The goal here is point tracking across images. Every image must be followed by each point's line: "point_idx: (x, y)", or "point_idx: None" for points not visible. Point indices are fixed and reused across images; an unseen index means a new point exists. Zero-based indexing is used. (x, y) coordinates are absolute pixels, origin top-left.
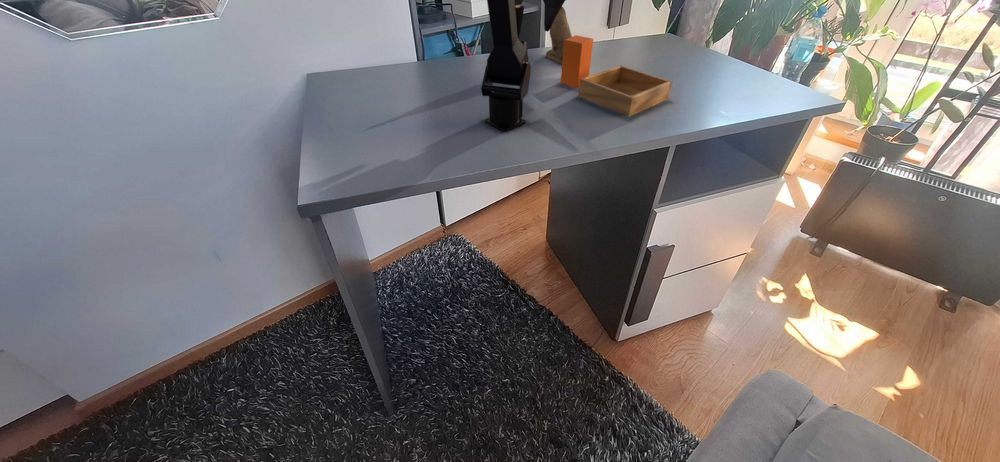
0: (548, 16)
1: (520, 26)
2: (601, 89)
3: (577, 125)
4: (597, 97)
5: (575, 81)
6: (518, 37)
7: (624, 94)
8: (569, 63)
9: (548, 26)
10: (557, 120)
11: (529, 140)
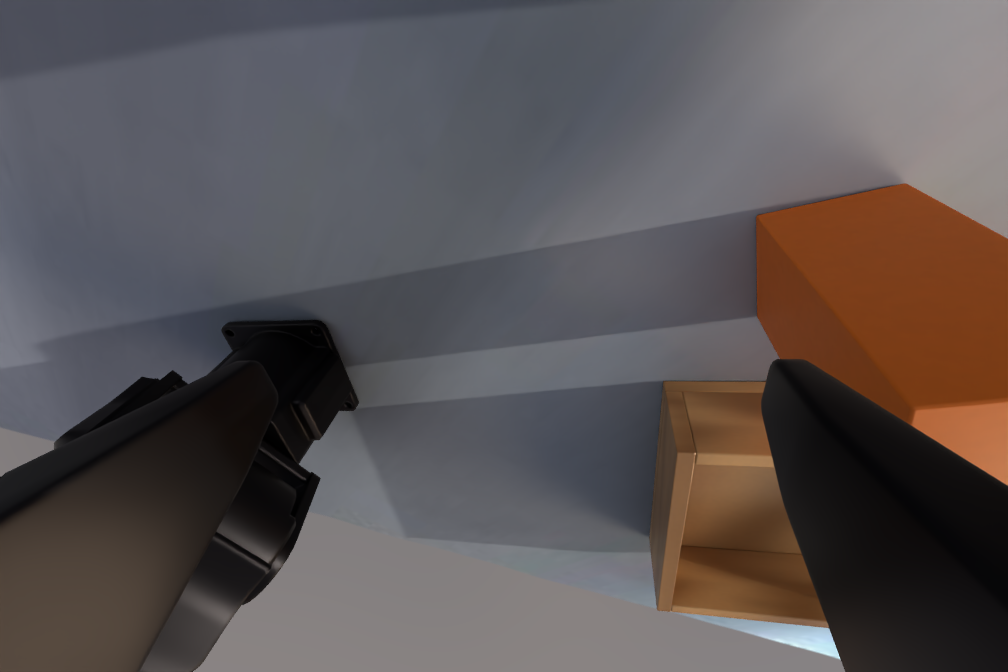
0: (878, 603)
1: (192, 554)
2: (664, 526)
3: (497, 484)
4: (661, 484)
5: (772, 330)
6: (267, 413)
7: (665, 592)
8: (809, 344)
9: (779, 471)
10: (464, 439)
11: (329, 462)
